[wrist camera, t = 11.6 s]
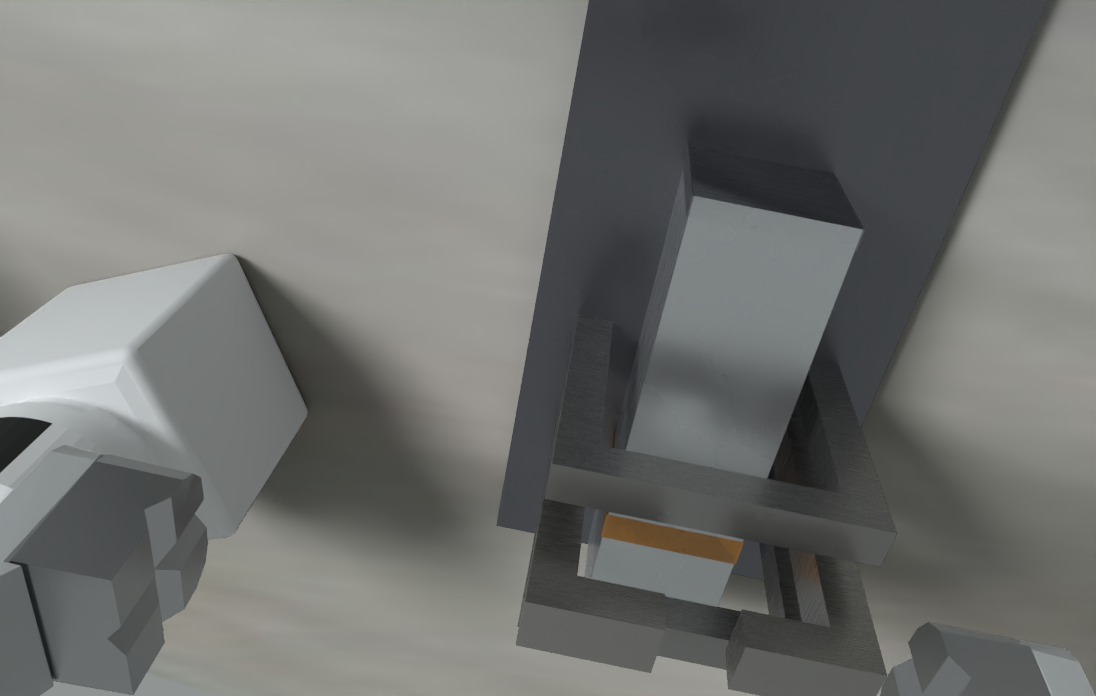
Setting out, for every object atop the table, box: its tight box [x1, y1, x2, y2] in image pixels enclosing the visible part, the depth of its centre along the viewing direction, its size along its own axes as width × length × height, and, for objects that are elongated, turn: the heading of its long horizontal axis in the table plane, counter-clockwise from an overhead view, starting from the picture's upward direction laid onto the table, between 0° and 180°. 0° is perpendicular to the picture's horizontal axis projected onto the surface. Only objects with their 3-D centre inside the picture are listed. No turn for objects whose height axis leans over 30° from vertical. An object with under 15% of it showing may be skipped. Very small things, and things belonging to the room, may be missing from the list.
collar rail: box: [497, 0, 1048, 696], centre depth 23 cm, size 27×12×11 cm, turn 171°
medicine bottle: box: [0, 254, 308, 540], centre depth 27 cm, size 7×7×12 cm
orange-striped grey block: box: [585, 145, 865, 607], centre depth 28 cm, size 16×4×4 cm, turn 170°
